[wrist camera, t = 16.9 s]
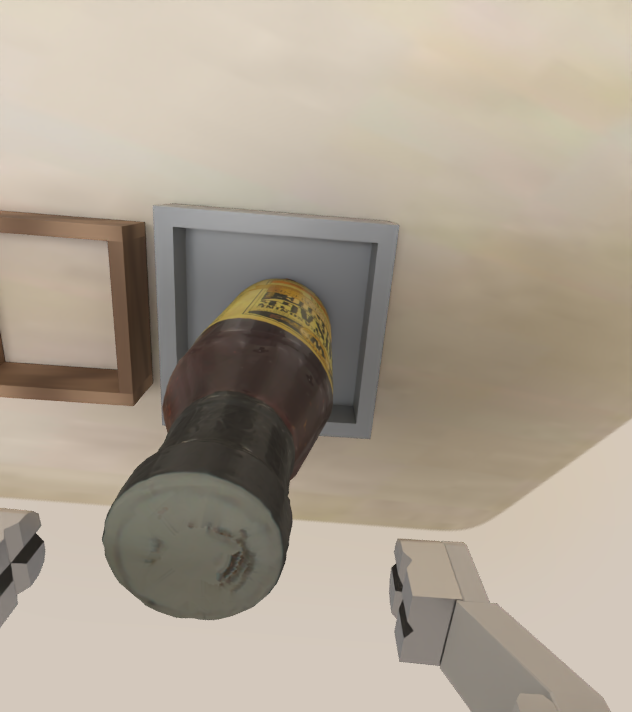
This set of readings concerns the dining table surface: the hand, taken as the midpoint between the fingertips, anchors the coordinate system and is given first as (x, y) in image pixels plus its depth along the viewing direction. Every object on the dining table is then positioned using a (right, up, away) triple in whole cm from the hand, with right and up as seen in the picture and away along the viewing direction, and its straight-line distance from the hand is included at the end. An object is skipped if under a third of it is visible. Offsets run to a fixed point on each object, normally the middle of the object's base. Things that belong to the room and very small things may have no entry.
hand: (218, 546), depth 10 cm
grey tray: (0, +7, +19) cm, 20 cm away
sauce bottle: (0, +7, +18) cm, 19 cm away
